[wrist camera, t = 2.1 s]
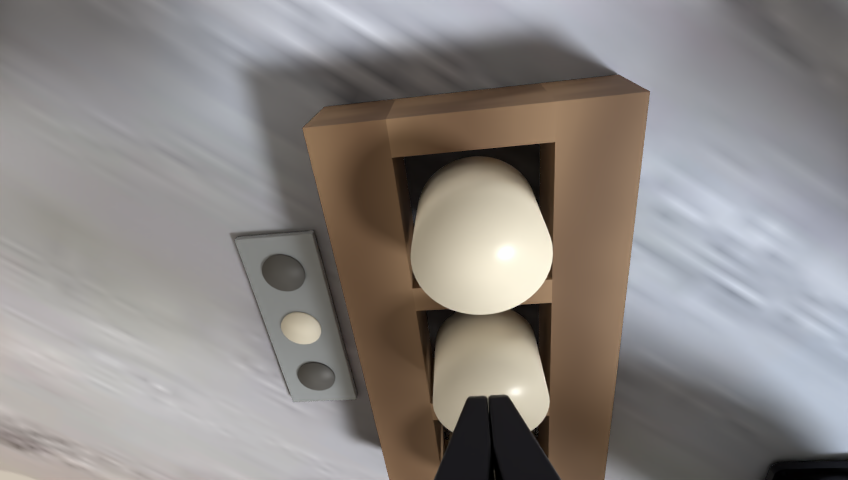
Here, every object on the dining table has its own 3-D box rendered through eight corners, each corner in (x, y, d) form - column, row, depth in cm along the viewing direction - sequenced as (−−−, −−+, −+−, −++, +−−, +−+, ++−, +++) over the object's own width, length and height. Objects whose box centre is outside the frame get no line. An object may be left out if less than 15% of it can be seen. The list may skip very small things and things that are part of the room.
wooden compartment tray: (618, 74, 17) (650, 91, 14) (587, 450, 27) (601, 501, 24) (324, 106, 18) (302, 127, 15) (400, 455, 28) (395, 504, 25)
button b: (535, 301, 19) (550, 357, 16) (535, 378, 21) (548, 440, 18) (430, 308, 19) (426, 364, 17) (440, 382, 22) (438, 443, 19)
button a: (535, 150, 16) (554, 187, 13) (535, 258, 18) (551, 310, 15) (410, 162, 16) (401, 200, 13) (424, 266, 18) (419, 318, 16)
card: (313, 230, 20) (311, 234, 20) (357, 395, 25) (355, 400, 25) (237, 236, 21) (233, 241, 20) (294, 397, 26) (292, 403, 25)
